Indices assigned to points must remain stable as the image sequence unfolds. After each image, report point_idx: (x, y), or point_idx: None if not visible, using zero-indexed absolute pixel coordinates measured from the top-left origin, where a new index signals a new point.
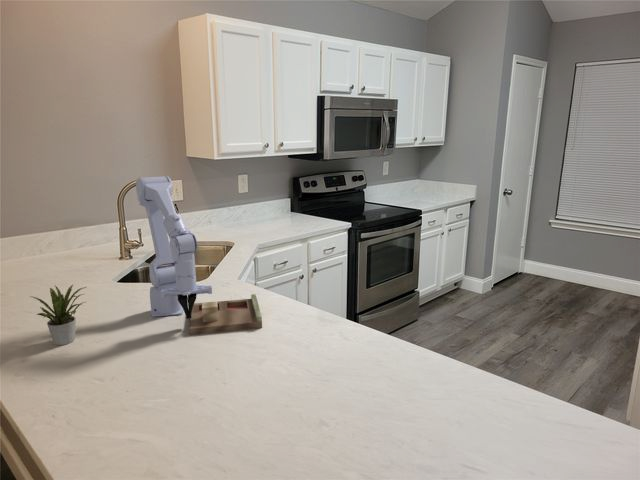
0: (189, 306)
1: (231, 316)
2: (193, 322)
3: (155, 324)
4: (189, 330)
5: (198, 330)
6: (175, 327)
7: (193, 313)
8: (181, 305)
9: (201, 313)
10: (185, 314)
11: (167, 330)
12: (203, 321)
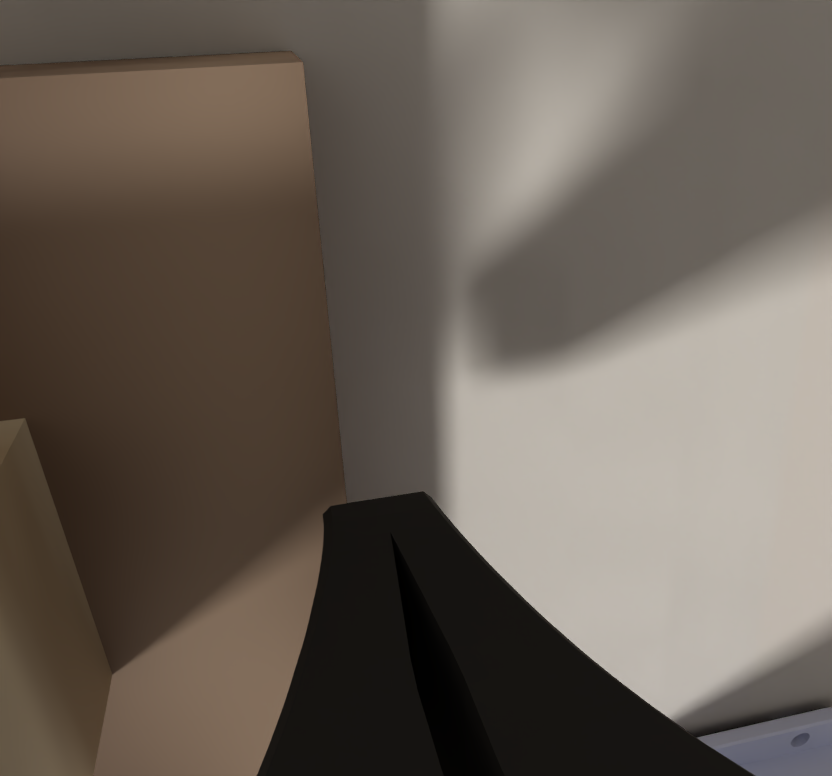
0: (391, 771)
1: None
2: (258, 415)
3: (827, 533)
4: (298, 58)
5: (64, 67)
6: (578, 429)
7: None
8: (729, 763)
9: (180, 769)
10: (473, 547)
11: (700, 332)
12: (2, 427)
